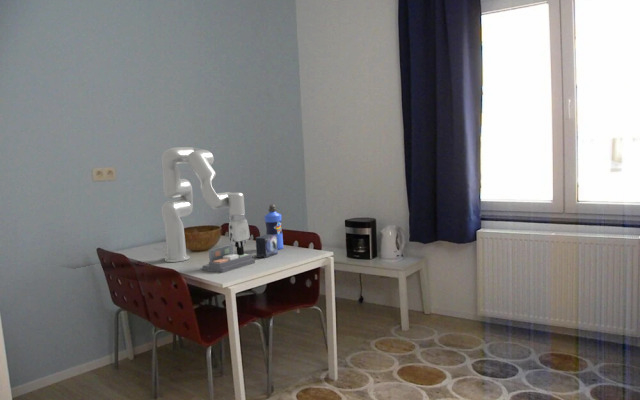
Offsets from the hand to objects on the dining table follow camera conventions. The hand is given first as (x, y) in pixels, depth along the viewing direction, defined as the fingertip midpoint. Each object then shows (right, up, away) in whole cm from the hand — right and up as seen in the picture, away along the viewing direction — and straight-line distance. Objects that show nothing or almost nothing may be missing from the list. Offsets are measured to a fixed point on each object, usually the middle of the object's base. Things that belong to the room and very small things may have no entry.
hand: (240, 254), depth 248 cm
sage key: (0, -2, 0) cm, 2 cm away
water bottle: (+14, -1, +32) cm, 35 cm away
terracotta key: (-8, -4, -10) cm, 13 cm away
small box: (+12, -2, +16) cm, 20 cm away
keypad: (-5, -5, -4) cm, 8 cm away
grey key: (-4, -2, -5) cm, 7 cm away
